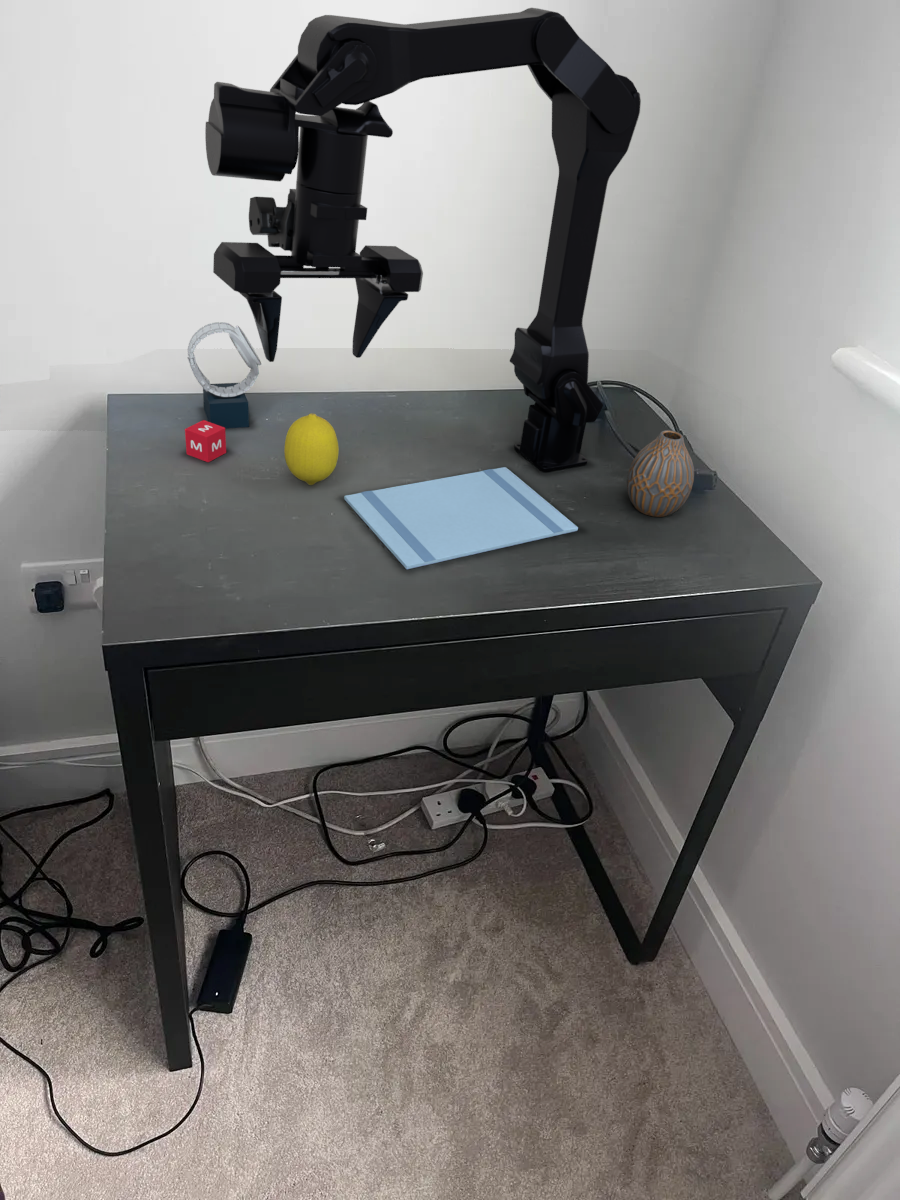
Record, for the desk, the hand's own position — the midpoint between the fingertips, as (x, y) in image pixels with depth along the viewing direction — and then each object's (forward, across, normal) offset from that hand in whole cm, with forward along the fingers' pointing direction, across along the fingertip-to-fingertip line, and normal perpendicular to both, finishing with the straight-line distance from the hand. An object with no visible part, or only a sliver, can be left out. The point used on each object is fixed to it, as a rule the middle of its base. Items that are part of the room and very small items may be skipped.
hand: (314, 358), depth 89 cm
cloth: (+13, -12, +12) cm, 21 cm away
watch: (+14, +1, -18) cm, 23 cm away
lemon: (+14, -1, 0) cm, 14 cm away
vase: (+12, -33, +18) cm, 40 cm away
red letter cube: (+15, +7, -10) cm, 19 cm away
